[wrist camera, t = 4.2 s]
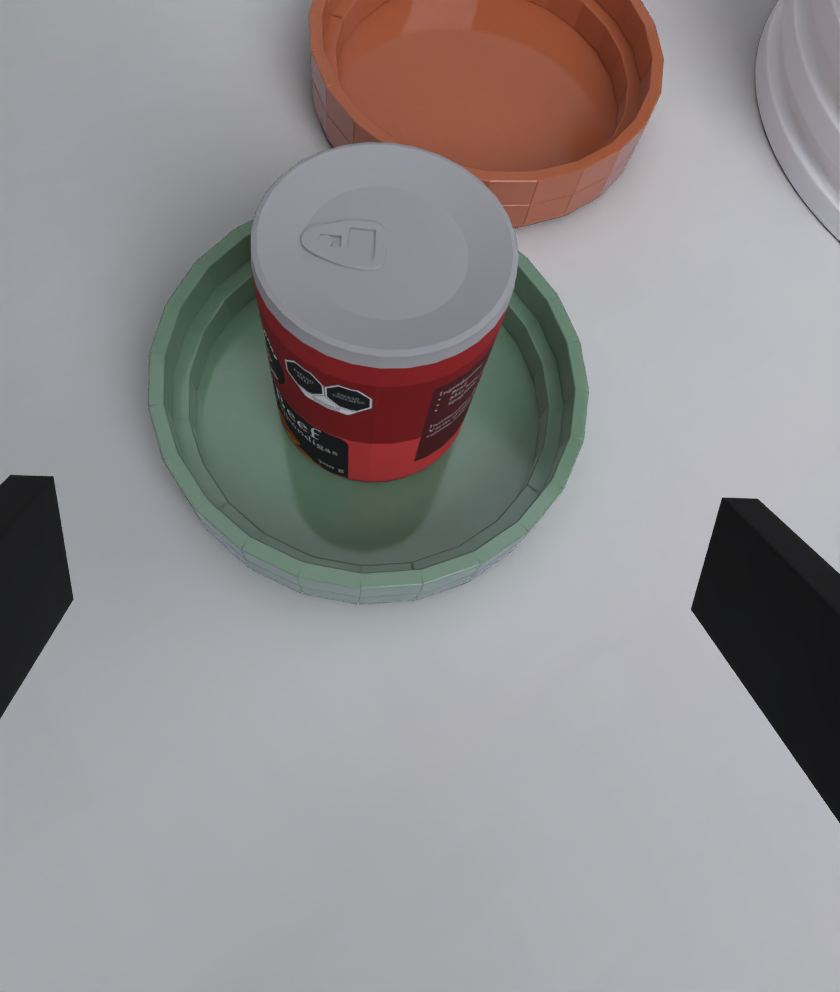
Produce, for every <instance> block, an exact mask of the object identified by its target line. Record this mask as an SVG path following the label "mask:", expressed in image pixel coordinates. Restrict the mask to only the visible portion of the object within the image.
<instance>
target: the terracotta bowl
mask: <svg viewBox="0 0 840 992" xmlns="http://www.w3.org/2000/svg"><path fill="white" fill-rule="evenodd" d="M309 33H310V56H311V77H312V94H313V104H314V107H315V110H316V112H317V115H318V117H319V119H320V122H321V124H322V127H323V129H324V132H325V134H326V137H327V138H328V140H329V142H330V143H331V144H332V145H333V147H334V148H335V147H338V146H342V145H348V144H356V143H364V142H379V143H396V144H401V145H407V146H413V147H417V148H420V149H423V150H426V151H429V152H432V153H435V154H438V155H441V156H443V157H445V158H447V159H449V160H451V161H452V162H454V163H456V164H458V165H460V166H462V167H463V168H465V169H466V170H467V171H469V172H470V173H471V174H473V175H474V176H476V177H477V178H478V179H480V180H481V181H482V182H483V183H484V184H485V185H486V186H487V188H488V189H489V190H490V191H491V192H492V193H493V194H494V195H495V196H496V197H497V199H498V200H499V202H500V203H501V205H502V206H503V208H504V210H505V211H506V213H507V214H508V216H509V219H510V221H511V224H512V227H522V226H526V225H530V224H534V223H538V222H542V221H547V220H551V219H555V218H559V217H562V216H565V215H567V214H569V213H571V212H573V211H574V210H576V209H578V208H580V207H582V206H584V205H585V204H587V203H589V202H591V201H593V200H594V199H596V198H598V197H599V196H600V195H601V194H602V193H603V192H604V191H605V190H606V189H607V188H608V187H609V186H610V185H611V184H612V183H613V182H614V181H615V180H616V179H617V178H618V177H619V176H620V175H621V174H622V172H623V171H624V169H625V167H626V165H627V163H628V161H629V159H630V157H631V155H632V153H633V151H634V149H635V147H636V145H637V143H638V141H639V139H640V137H641V135H642V133H643V131H644V129H645V127H646V125H647V122H648V120H649V118H650V116H651V114H652V112H653V110H654V107H655V105H656V103H657V101H658V99H659V97H660V94H661V88H662V75H663V62H664V58H663V54H662V50H661V46H660V42H659V38H658V34H657V30H656V26H655V24H654V21H653V20H652V18H651V16H650V15H649V13H648V11H647V10H646V8H645V6H644V5H643V3H642V1H641V0H313V3H312V6H311V9H310V12H309Z"/></svg>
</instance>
